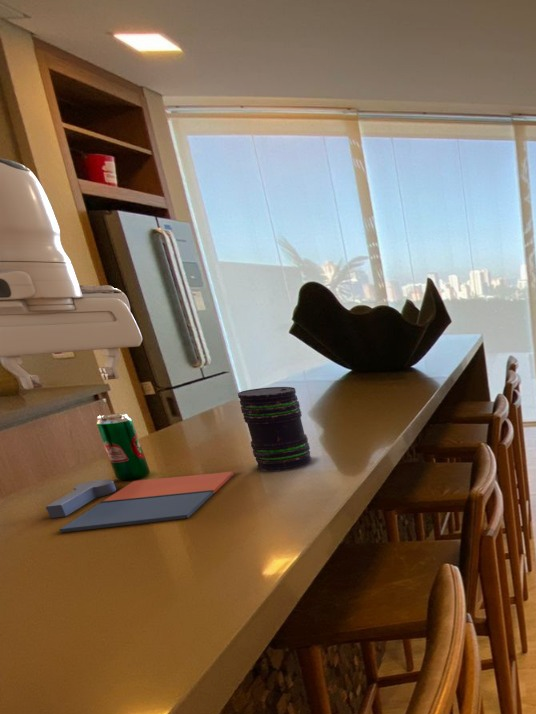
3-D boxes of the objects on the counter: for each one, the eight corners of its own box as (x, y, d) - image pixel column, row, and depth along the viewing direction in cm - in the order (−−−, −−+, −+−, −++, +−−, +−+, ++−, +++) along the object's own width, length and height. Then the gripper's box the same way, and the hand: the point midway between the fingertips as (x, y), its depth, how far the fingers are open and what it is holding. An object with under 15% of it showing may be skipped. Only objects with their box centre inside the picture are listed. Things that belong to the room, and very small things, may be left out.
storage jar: (261, 474, 109) (239, 397, 104) (253, 463, 116) (233, 390, 111) (317, 464, 115) (300, 391, 109) (307, 454, 122) (291, 385, 116)
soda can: (110, 480, 107) (86, 418, 103) (137, 472, 112) (116, 412, 107) (130, 482, 106) (107, 419, 101) (157, 474, 110) (136, 413, 106)
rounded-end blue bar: (87, 490, 102) (82, 480, 101) (122, 487, 103) (118, 476, 102) (37, 519, 89) (32, 507, 88) (78, 515, 90) (73, 503, 90)
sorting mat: (60, 532, 84) (58, 528, 84) (134, 484, 105) (133, 480, 105) (188, 518, 89) (186, 514, 88) (234, 474, 110) (233, 470, 109)
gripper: (111, 285, 90) (140, 373, 96) (-77, 285, 73) (-29, 393, 78) (134, 285, 88) (163, 375, 93) (-54, 285, 71) (-7, 395, 76)
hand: (74, 383), depth 86 cm, fingers open, 8 cm apart
